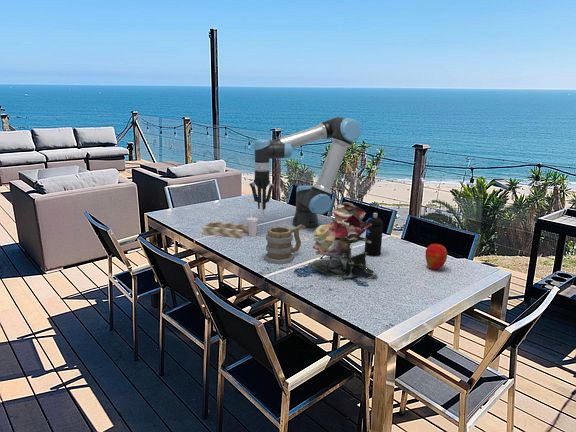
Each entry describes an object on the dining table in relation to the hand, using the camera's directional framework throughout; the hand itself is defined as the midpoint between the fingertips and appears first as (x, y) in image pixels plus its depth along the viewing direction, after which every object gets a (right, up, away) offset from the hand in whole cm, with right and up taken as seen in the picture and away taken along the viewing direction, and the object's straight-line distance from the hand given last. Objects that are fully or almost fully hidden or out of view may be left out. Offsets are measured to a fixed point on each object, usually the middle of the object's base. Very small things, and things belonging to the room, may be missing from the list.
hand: (261, 214), depth 229 cm
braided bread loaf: (-20, -10, +8) cm, 24 cm away
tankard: (+13, -20, -26) cm, 35 cm away
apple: (+78, -24, -36) cm, 90 cm away
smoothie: (-5, -11, +5) cm, 13 cm away
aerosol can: (+54, -19, -19) cm, 61 cm away
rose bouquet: (+37, -24, -39) cm, 58 cm away
